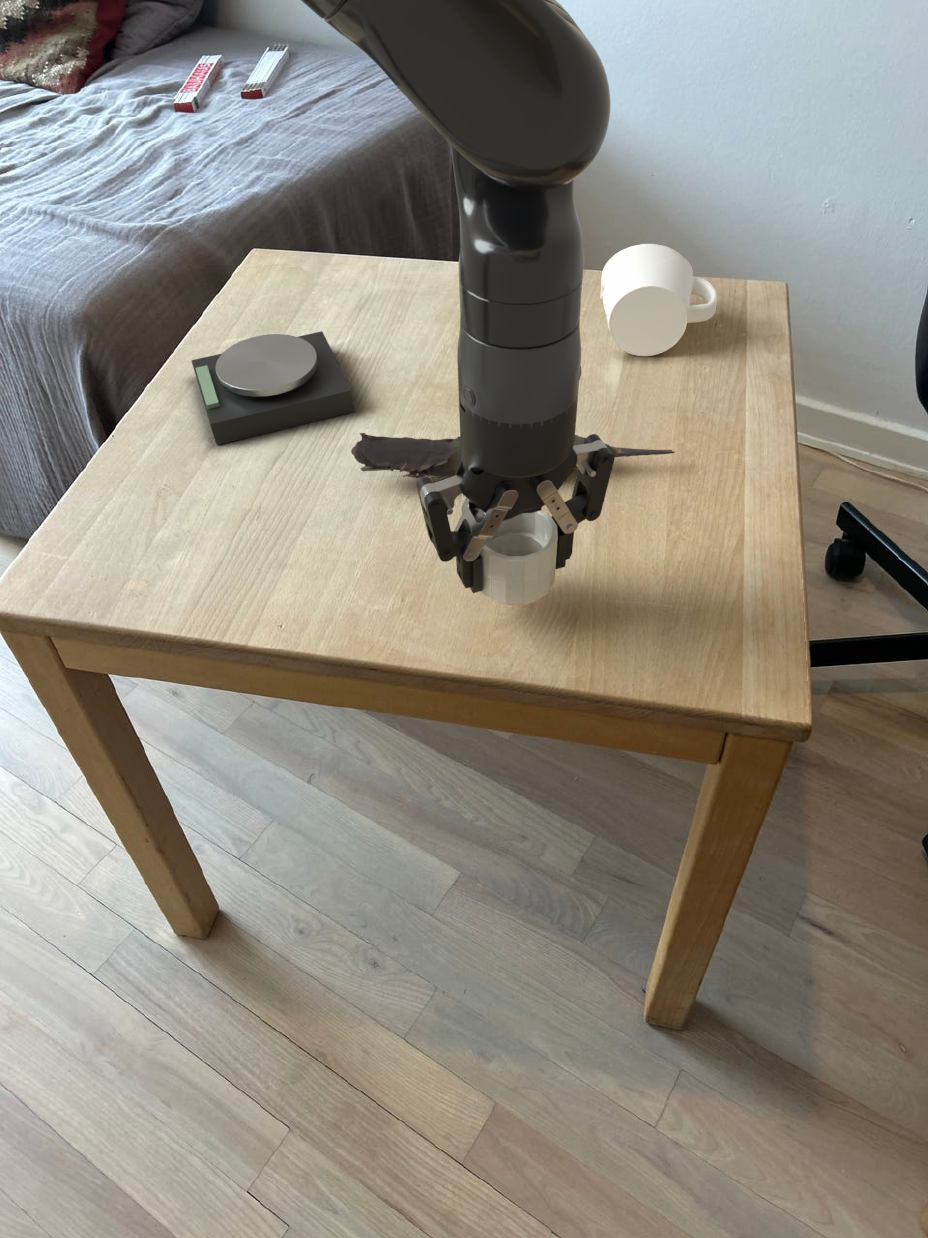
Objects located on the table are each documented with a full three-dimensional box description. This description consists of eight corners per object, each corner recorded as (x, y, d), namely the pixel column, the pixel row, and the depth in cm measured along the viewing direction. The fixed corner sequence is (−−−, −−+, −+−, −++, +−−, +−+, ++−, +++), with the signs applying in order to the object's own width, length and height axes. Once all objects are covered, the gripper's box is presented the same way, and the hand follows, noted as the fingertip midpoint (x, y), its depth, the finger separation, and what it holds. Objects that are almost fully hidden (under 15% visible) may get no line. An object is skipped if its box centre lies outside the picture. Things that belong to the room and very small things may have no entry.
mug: (597, 355, 93) (603, 284, 87) (598, 309, 99) (604, 240, 93) (713, 358, 92) (727, 286, 86) (706, 312, 98) (719, 242, 92)
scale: (216, 445, 85) (208, 419, 83) (197, 380, 93) (189, 355, 90) (355, 411, 88) (351, 386, 86) (325, 351, 95) (321, 326, 93)
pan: (227, 406, 84) (225, 399, 83) (209, 353, 90) (207, 346, 89) (328, 382, 86) (327, 375, 85) (304, 332, 92) (303, 325, 91)
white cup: (492, 618, 65) (491, 569, 61) (464, 565, 69) (461, 515, 65) (567, 596, 67) (571, 547, 63) (535, 545, 70) (537, 495, 66)
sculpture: (358, 463, 82) (351, 418, 79) (666, 449, 82) (674, 403, 78) (355, 497, 79) (348, 452, 76) (676, 482, 79) (685, 437, 75)
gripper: (596, 330, 59) (578, 519, 71) (390, 377, 56) (410, 565, 68) (650, 390, 54) (621, 581, 66) (428, 445, 51) (441, 633, 63)
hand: (514, 572), depth 67 cm, fingers closed on white cup, 6 cm apart
